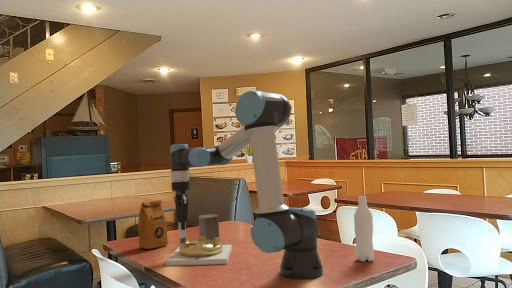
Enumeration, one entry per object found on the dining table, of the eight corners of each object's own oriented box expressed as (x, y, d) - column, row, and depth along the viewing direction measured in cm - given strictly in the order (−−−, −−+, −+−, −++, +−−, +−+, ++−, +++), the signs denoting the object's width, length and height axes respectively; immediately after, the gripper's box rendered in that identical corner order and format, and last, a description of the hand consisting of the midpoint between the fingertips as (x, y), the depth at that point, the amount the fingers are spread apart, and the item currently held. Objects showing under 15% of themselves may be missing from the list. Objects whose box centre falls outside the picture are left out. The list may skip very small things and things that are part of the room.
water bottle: (351, 259, 158) (349, 195, 158) (367, 256, 160) (364, 194, 161) (362, 263, 151) (360, 197, 152) (378, 261, 154) (375, 196, 154)
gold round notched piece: (177, 257, 160) (176, 232, 160) (182, 247, 178) (181, 224, 178) (222, 255, 161) (221, 230, 161) (222, 245, 179) (222, 223, 179)
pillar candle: (222, 241, 196) (221, 211, 197) (215, 246, 187) (213, 214, 188) (204, 241, 199) (202, 211, 200) (196, 246, 190) (194, 214, 190)
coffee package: (170, 246, 191) (169, 200, 191) (147, 251, 182) (146, 203, 182) (159, 243, 198) (157, 199, 198) (136, 248, 189) (135, 201, 189)
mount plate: (226, 263, 157) (226, 258, 157) (166, 265, 157) (166, 259, 158) (232, 249, 181) (231, 244, 181) (179, 250, 181) (179, 245, 181)
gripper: (193, 180, 163) (196, 238, 163) (184, 179, 175) (186, 233, 174) (175, 182, 160) (178, 241, 159) (167, 180, 171) (169, 236, 171)
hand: (182, 237), depth 167 cm, fingers closed
